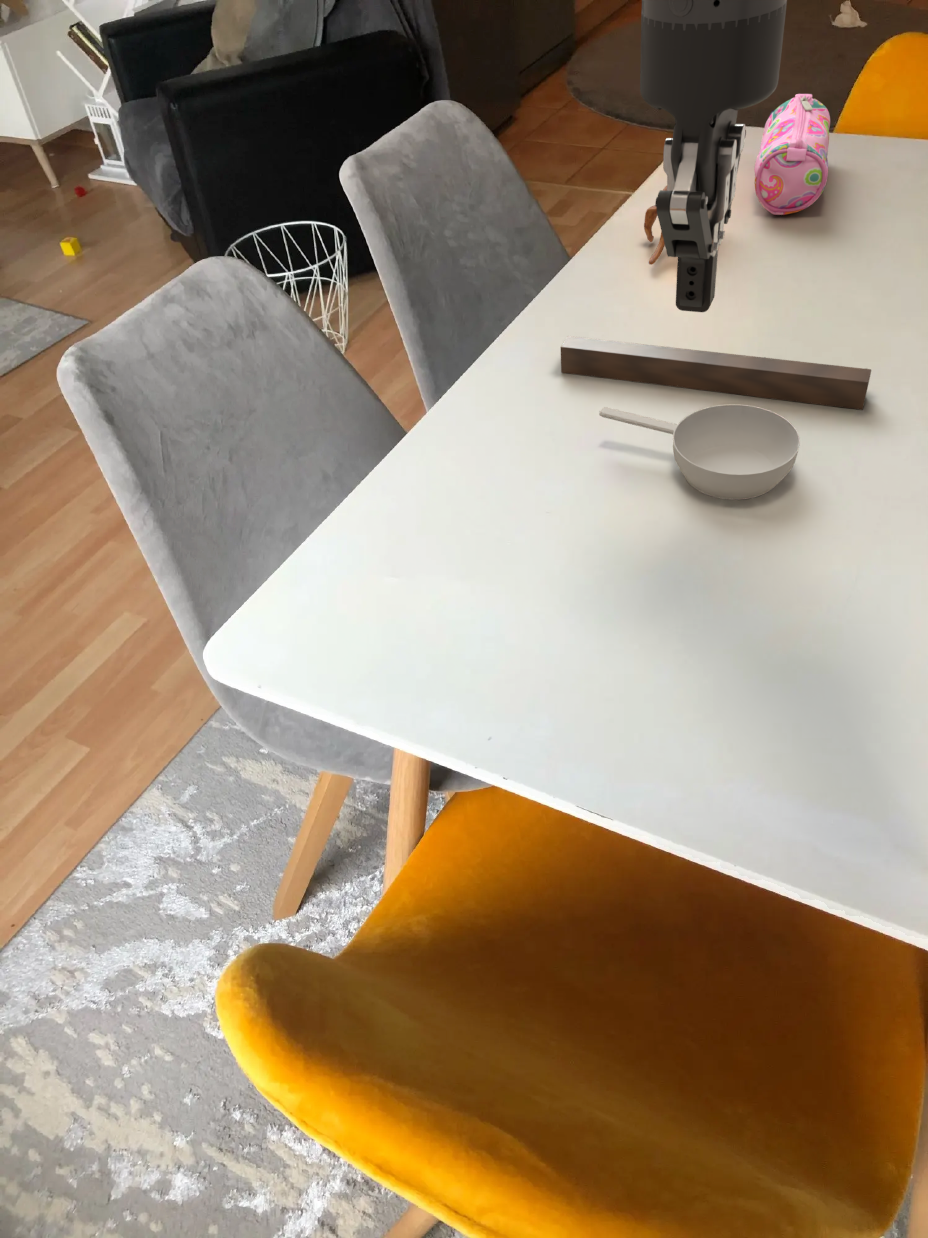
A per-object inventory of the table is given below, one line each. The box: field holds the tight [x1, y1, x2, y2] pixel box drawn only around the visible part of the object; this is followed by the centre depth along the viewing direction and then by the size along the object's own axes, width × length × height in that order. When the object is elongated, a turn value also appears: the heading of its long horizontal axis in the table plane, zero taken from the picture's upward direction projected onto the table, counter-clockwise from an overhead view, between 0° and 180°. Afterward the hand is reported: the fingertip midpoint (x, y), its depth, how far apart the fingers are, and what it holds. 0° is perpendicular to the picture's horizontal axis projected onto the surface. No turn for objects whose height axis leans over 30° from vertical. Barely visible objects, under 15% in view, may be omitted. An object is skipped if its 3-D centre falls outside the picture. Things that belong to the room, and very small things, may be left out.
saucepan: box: [599, 403, 801, 501], centre depth 86 cm, size 11×18×4 cm, turn 63°
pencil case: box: [754, 93, 831, 216], centre depth 126 cm, size 21×9×9 cm, turn 163°
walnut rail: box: [560, 335, 872, 411], centre depth 96 cm, size 30×2×3 cm, turn 68°
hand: (694, 305), depth 63 cm, fingers closed
